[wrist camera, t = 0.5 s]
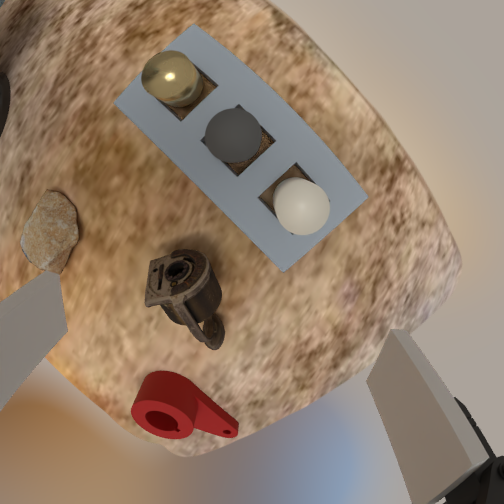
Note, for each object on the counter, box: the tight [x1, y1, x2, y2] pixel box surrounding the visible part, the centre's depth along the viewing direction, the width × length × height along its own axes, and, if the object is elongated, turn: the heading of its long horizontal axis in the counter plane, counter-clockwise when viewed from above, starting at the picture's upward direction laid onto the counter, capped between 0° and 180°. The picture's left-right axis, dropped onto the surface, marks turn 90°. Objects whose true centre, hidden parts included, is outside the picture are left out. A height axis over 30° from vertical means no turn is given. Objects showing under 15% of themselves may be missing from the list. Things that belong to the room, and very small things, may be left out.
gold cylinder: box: [141, 50, 203, 107], centre depth 21 cm, size 4×4×5 cm
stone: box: [20, 189, 79, 275], centre depth 30 cm, size 8×10×4 cm
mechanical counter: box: [145, 249, 225, 350], centre depth 29 cm, size 7×13×10 cm, turn 31°
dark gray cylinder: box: [205, 108, 262, 163], centre depth 23 cm, size 4×4×5 cm
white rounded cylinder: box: [273, 177, 330, 235], centre depth 25 cm, size 4×4×5 cm
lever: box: [131, 371, 239, 439], centre depth 38 cm, size 18×9×7 cm, turn 50°
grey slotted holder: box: [114, 24, 368, 273], centre depth 27 cm, size 26×12×3 cm, turn 44°
